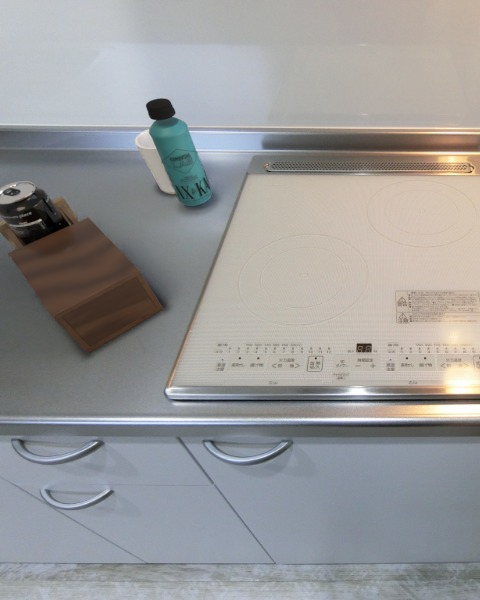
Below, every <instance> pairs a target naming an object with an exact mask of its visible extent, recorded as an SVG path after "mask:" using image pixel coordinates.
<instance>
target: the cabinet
mask: <svg viewBox="0 0 480 600" xmlns="http://www.w3.org/2000/svg"><path fill="white" fill-rule="evenodd" d="M7 255H8V256H9V258H10V259H11V261H12V262H13V264H14V265H15V267H16V268H17V269H18V271H19V272H20V273H21V275H22V276H23V278H24V279H25V280H26V282H27V283H28V284H29V286H30V287H31V289H32V291H33V292H34V293H35V294H36V296H37V297H38V299H39V301H40V302H41V303H42V304H43V306H44V307H45V309H46V310H47V311H48V313H49V314H50V316H51V318H53V319H54V321H55V322H57V323H58V325H60V327H62V329H63V330H64V331H65V332H66V333H67V334H68V335H69V336H70V337H71V338H72V339H73V340H74V341H75V342H76V343H77V344H78V346H79V347H80V348H82V350H84V352H85V353H86V354H90V353H92V352H93V351H95V350H96V349H98V348H100V347H101V346H103V345H105V344H107V343H108V342H110V341H112V340H113V339H115V338H116V337H118V336H120V335H122V334H124V333H125V332H127V331H128V330H130V329H132V328H134V327H135V326H137V325H138V324H140V323H142V322H144V321H145V320H147V319H148V318H150V317H152V316H153V315H155V314H157V313H159V312H160V311H162V310H164V307H163V305H162V304H161V303H160V301H159V299H158V298H157V296H156V294H155V293H154V292H153V290H152V288H151V287H150V285H149V283H148V281H146V279H145V277H144V276H143V274H142V272H141V271H140V269H138V267H137V266H136V265H135V264H134V263H133V262H132V261H131V260H130V259H129V258H128V257H127V256H126V255H125V254H124V253H123V252H122V250H121V249H120V248H119V247H118V246H117V245H116V244H114V242H113V241H112V240H111V239H110V238H109V237H108V236H107V235H106V234H105V233H104V232H103V231H102V230H101V228H100V227H98V226H97V224H96V223H94V222H93V221H92V219H91V218H89V217H86V218H84V219H81V220H79V222H77V223H74V224H72V225H70V226H68V227H66V228H63V229H61V230H59V231H57V232H54V233H52V234H50V235H48V236H45V237H43V238H41V239H39V240H36V241H34V242H32V243H30V244H28V245H25V246H23V247H21V248H19V249H16V250H15V249H14V250H12V251H10V252H7Z"/></svg>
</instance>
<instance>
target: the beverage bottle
mask: <svg viewBox="0 0 480 600" xmlns="http://www.w3.org/2000/svg"><path fill="white" fill-rule="evenodd" d="M145 108H146V111H147V115H148V117H149V118H150V119H151V120H153V122H152V124H151V125H150V127H149V128H148V129H149V134H150V136H151V137H152V140H153V142H154V144H155V147H156V149H157V151H158V153H159V156H160V158H161V161H162V162H161V163H163V165H164V167H163V168H165V172H167V175H168V177H169V181H171V183H172V186H173V187H172V188H174V189H173V190H175V192H176V194H175V195H176V198H177V200H178V201H179V202H180V203H181V204H182V205H184V206H188V207H195V206H200V205H202V204H204V203H206V202H208V201H209V200H210V199H211V198H212V188H211V184H210V181H209V179H208V176H207V173H206V170H205V169H204V166H203V162H202V160H201V159H200V156H199V151H198V150H197V149H196V146H195V143H194V140H193V138H192V135H191V132H190V130H189V127H188V124H187V123H186V121H184V120H182V119H180V118H178V117H175V115H176V114H177V113H176V109H175V107H174V106H173V104H172V101H171V100H170V99H168V98H163V97H162V98H155V99H151V100H149V101H148V102H147V103H146V104H145Z"/></svg>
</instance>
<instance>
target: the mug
mask: <svg viewBox="0 0 480 600" xmlns="http://www.w3.org/2000/svg"><path fill="white" fill-rule="evenodd" d="M149 129H150V128H148V129H145V130H143V131H142V132H140V133H138V134H137V135H136V137H135V139H134V143H135V146H136V147H137V149H138V151H139V153H140V155H141V157H142V158H143V160H144V162H145V164H146V166H147V167H148V169H149V171H150V173H151V174H152V177H153V178H154V180H155V181H156V184H157V185H158V187H159V189H160V190H161V191H162V192H164V193H165V194H167V195H177V194H176V192H175V190H173V189H174V188H172V187H173V186H172V183H171V181H169V177H168V175H167V172H165V168H163V167H164V165H163V163H161V162H162V161H161V158H160V156H159V153H158V151H157V149H156V147H155V144H154V142H153V140H152V137H151V136H150V134H149Z"/></svg>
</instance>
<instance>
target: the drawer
mask: <svg viewBox="0 0 480 600" xmlns="http://www.w3.org/2000/svg"><path fill="white" fill-rule="evenodd" d="M51 200H52V201H53V203H54V204H55V206H56V207H57V208H58V210H59V211H60V212H61V214H62V215H63V217H64V218H65V219H66V221H67V222H68V223H69V225H72V224H74V223H77V222H79V221H80V219H79V218H78V216H77V215H76V214H75V212H74V210H73V209H72V208H71V206H70V204H69V203H68V202H67V201H66V199H65V198H64V197H63V196H62V195H61V196H59V197H56V198H54V199H51ZM0 234H1V236H3V238H4V239H5V240H6V241H7V242H8V243H9V244H10V245H11V246H12V247H13V249H14V250H16V249H19V248H21V247H23V246H25V244H24V243H23V242H22V241H21V240H20V239H19V237H18V236H17V235H16V234H15V233H14V232H13V230H12V229H11V228H10V227H9V226H8V225H7V223H6V222H5V221H4V220H3V219H2V220H0Z"/></svg>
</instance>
